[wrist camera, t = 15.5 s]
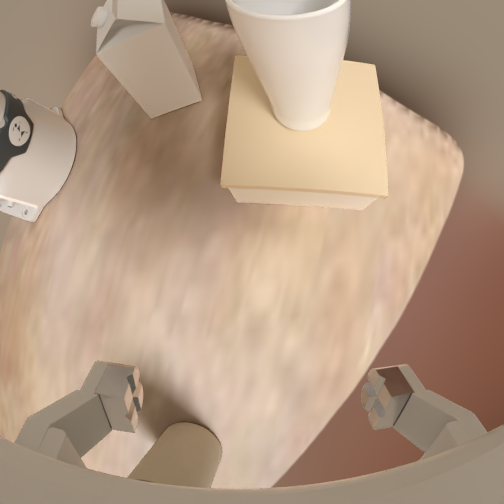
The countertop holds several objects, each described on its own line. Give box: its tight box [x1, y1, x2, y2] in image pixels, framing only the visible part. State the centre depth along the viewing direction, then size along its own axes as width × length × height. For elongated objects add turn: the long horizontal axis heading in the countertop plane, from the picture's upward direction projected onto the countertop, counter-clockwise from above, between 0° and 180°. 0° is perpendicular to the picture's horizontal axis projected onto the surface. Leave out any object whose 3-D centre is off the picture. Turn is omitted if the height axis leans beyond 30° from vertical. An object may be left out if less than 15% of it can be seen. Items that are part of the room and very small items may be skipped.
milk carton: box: [91, 0, 202, 119], centre depth 26 cm, size 7×7×19 cm
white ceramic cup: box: [225, 0, 351, 131], centre depth 18 cm, size 7×7×15 cm
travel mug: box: [127, 422, 222, 488], centre depth 23 cm, size 8×8×18 cm
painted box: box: [220, 55, 388, 210], centre depth 29 cm, size 15×15×8 cm
